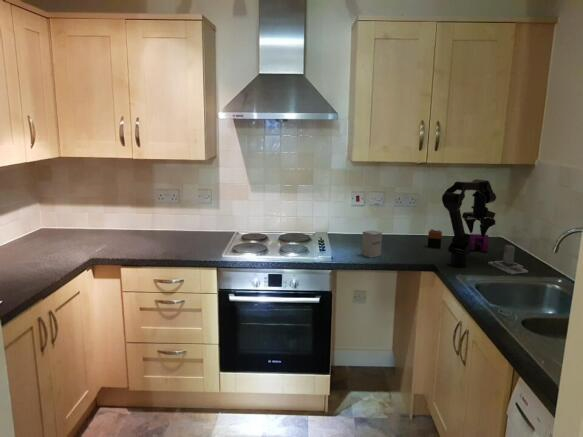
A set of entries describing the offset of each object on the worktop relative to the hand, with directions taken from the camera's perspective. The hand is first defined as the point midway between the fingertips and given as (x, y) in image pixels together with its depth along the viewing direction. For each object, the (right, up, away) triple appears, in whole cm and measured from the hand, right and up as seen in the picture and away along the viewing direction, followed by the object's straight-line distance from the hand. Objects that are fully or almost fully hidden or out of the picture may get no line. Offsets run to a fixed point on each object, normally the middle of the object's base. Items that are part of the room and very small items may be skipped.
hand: (476, 235), depth 235 cm
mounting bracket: (+9, -9, +26) cm, 29 cm away
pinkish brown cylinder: (-52, -11, +8) cm, 54 cm away
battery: (-14, -8, +26) cm, 30 cm away
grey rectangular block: (+11, -15, -10) cm, 21 cm away
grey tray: (+11, -16, -10) cm, 22 cm away
